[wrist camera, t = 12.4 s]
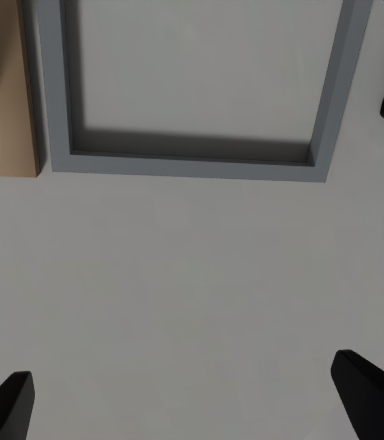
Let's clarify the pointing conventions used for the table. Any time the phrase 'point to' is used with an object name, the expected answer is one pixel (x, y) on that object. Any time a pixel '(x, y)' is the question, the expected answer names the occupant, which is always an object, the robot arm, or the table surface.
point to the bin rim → (198, 166)
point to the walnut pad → (15, 97)
